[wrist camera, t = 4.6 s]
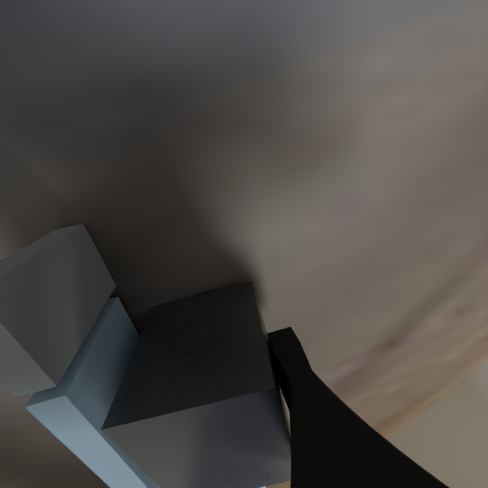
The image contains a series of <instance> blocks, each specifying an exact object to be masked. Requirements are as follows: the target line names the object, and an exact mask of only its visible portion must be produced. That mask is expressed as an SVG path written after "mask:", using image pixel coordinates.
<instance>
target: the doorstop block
mask: <svg viewBox="0 0 488 488" xmlns="http://www.w3.org/2000/svg"><path fill="white" fill-rule="evenodd" d="M101 431H102V432H103V433H104V434H105V435H106V436H107V437H108V438H109V439H110V440H111V441H112V442H114V443H115V444H116V445H117V446H118V447H119V448H120V449H121V450H122V451H123V452H124V453H125V454H126V455H127V456H128V457H129V458H130V459H131V460H132V461H133V462H134V463H135V464H136V465H137V466H138V467H139V468H140V469H141V470H142V471H143V472H144V473H145V474H147V475H148V476H149V477H150V478H151V479H152V480H153V481H154V482H155V483H156V484H157V485H158V486H159V487H160V488H260V487H264V486H269V485H273V484H277V483H282V482H286V481H290V480H291V432H290V425H289V421H288V417H287V413H286V408H285V404H284V400H283V396H282V391H281V389H280V386H279V383H278V379H277V375H276V371H275V367H274V363H273V359H272V356H271V352H270V348H269V343H268V338H267V332H266V329H265V325H264V322H263V318H262V314H261V311H260V307H259V303H258V300H257V296H256V293H255V289H254V285H253V282H250V283H246V284H242V285H238V286H234V287H231V288H227V289H223V290H219V291H215V292H211V293H207V294H203V295H199V296H195V297H191V298H187V299H183V300H179V301H175V302H172V303H168V304H164V305H160V306H156V307H153V308H152V310H151V313H150V315H149V317H148V320H147V322H146V324H145V327H144V329H143V331H142V334H141V336H140V339H139V341H138V343H137V346H136V348H135V350H134V353H133V355H132V357H131V360H130V362H129V364H128V367H127V369H126V372H125V374H124V376H123V379H122V381H121V383H120V386H119V388H118V390H117V393H116V395H115V397H114V400H113V402H112V404H111V407H110V409H109V412H108V414H107V416H106V419H105V421H104V423H103V426H102V428H101Z"/></svg>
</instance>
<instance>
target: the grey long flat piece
mask: <svg viewBox="0 0 488 488" xmlns="http://www.w3.org/2000/svg"><path fill="white" fill-rule="evenodd" d="M115 287H116V284H115V282H114V280H113V278H112V276H111V275H110V273H109V271H108V269H107V267H106V265H105V263H104V261H103V260H102V258H101V256H100V254H99V252H98V250H97V248H96V246H95V244H94V243H93V241H92V239H91V237H90V235H89V233H88V231H87V229H86V228H85V226H84V224H83V223H82V224H77V225H73V226H68V227H64V228H59V229H56V230H54V231H52V232H50V233H49V234H47V235H45V236H43V237H42V238H40V239H38V240H36V241H35V242H33V243H31V244H29V245H28V246H26V247H24V248H22V249H21V250H19V251H17V252H15V253H13V254H12V255H10V256H8V257H6V258H5V259H3V260H1V261H0V385H1V386H3V387H4V388H5V389H6V390H7V391H8V392H9V393H10V394H11V395H12V396H13V397H14V398H18V397H22V396H25V395H28V394H32V393H35V392H38V391H42V390H45V389H49V388H52V387H55V386H57V385H58V383H59V382H60V380H61V378H62V377H63V375H64V373H65V371H66V370H67V368H68V366H69V365H70V363H71V361H72V360H73V358H74V356H75V355H76V353H77V351H78V349H79V348H80V346H81V344H82V343H83V341H84V339H85V338H86V336H87V334H88V332H89V331H90V329H91V327H92V326H93V324H94V322H95V321H96V319H97V317H98V316H99V314H100V312H101V310H102V309H103V307H104V305H105V304H106V302H107V300H108V299H109V297H110V295H111V294H112V292H113V290H114V288H115Z"/></svg>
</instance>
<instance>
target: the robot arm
mask: <svg viewBox="0 0 488 488" xmlns="http://www.w3.org/2000/svg"><path fill="white" fill-rule="evenodd" d="M267 338H268V343H269V348H270V352H271V356H272V359H273V363H274V367H275V371H276V375H277V379H278V383H279V386H280V389H281V391H282V394H283V396H284V399H285V401H286V404H287V406H288V409H289V411H290V432H291V488H449V487H448V486H446V485H445V484H443V483H442V482H441V481H439V480H438V479H437V478H435V477H434V476H433V475H431V474H430V473H429V472H427V471H426V470H424V469H423V468H422V467H421V466H419V465H418V464H417V463H415V462H414V461H413V460H411V459H410V458H409V457H407V456H406V455H405V454H404V453H402V452H401V451H400V450H398V449H397V448H396V447H395V446H393V445H392V444H391V443H390V442H389V441H387V440H386V439H385V438H384V437H383V436H381V435H380V434H379V433H378V432H376V431H375V430H374V429H373V428H372V427H370V426H369V425H368V424H367V423H366V422H365V421H363V420H362V419H361V418H360V417H359V416H358V415H357V414H356V413H354V412H353V411H352V410H351V409H350V408H349V407H348V406H347V405H346V404H345V403H344V402H343V401H341V400H340V399H339V398H338V397H337V396H336V395H335V394H334V393H333V392H332V391H331V390H330V389H329V388H328V387H327V386H326V385H325V384H324V383H323V382H322V381H321V379H320V378H319V377H318V376H317V375H316V374H315V373H314V372H313V371H312V369H311V367H310V364H309V362H308V360H307V357H306V355H305V353H304V350H303V348H302V346H301V344H300V341H299V340H298V338H297V336H296V335H295V333H294V331H293V330H292V328H291V327H288V328H285V329H281V330H278V331H274V332H271V333H267ZM260 488H266V486H264V487H260Z"/></svg>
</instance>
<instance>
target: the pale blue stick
mask: <svg viewBox="0 0 488 488" xmlns="http://www.w3.org/2000/svg"><path fill="white" fill-rule="evenodd" d="M139 339H140V336H139V335H138V333H137V331H136V329H135V327H134V325H133V324H132V322H131V320H130V318H129V316H128V314H127V312H126V311H125V309H124V307H123V305H122V303H121V301H120V300H119V298H118V297H114V298H111V299H108V300H107V302H106V304H105V305H104V307H103V309H102V310H101V312H100V314H99V316H98V317H97V319H96V321H95V322H94V324H93V326H92V327H91V329H90V331H89V332H88V334H87V336H86V338H85V339H84V341H83V343H82V344H81V346H80V348H79V349H78V351H77V353H76V355H75V356H74V358H73V360H72V361H71V363H70V365H69V366H68V368H67V370H66V371H65V373H64V375H63V377H62V378H61V380H60V382H59V383H58V385H57V386H55V387H52V388H49V389H45V390H42V391H38V392H35V393H34V394H33V396H32V397H31V399H30V400H29V402H28V403H27V405H26V406H25V408H26V409H27V410H28V411H29V412H30V413H31V414H32V415H33V416H35V417H36V418H37V419H38V420H39V421H40V422H41V423H42V424H43V425H44V426H45V427H46V428H47V429H48V430H49V431H50V432H52V433H53V434H54V435H55V436H56V437H57V438H58V439H59V440H60V441H61V442H62V443H63V444H64V445H65V446H66V447H68V448H69V449H70V450H71V451H72V452H73V453H74V454H75V455H76V456H77V457H78V458H79V459H80V460H81V461H82V462H84V463H85V464H86V465H87V466H88V467H89V468H90V469H91V470H92V471H93V472H94V473H95V474H96V475H97V476H98V477H100V478H101V479H102V480H103V481H104V482H105V483H106V484H107V485H108V486H109V487H110V488H160V487H159V486H158V485H157V484H156V483H155V482H154V481H153V480H152V479H151V478H150V477H149V476H148V475H147V474H145V473H144V472H143V471H142V470H141V469H140V468H139V467H138V466H137V465H136V464H135V463H134V462H133V461H132V460H131V459H130V458H129V457H128V456H127V455H126V454H125V453H124V452H123V451H122V450H121V449H120V448H119V447H118V446H117V445H116V444H115V443H114V442H112V441H111V440H110V439H109V438H108V437H107V436H106V435H105V434H104V433H103V432H102V431H101V428H102V426H103V423H104V421H105V419H106V416H107V414H108V412H109V409H110V407H111V404H112V402H113V400H114V397H115V395H116V393H117V390H118V388H119V386H120V383H121V381H122V379H123V376H124V374H125V372H126V369H127V367H128V364H129V362H130V360H131V357H132V355H133V353H134V350H135V348H136V346H137V343H138V341H139Z"/></svg>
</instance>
